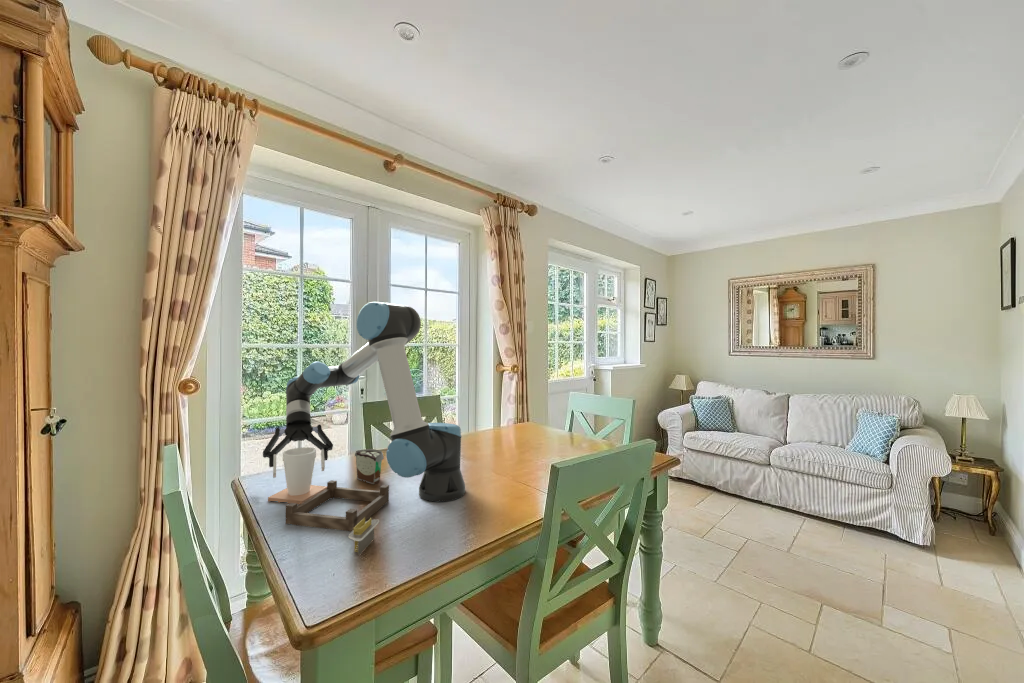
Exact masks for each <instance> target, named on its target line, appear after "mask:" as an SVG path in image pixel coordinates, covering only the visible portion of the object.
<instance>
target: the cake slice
mask: <svg viewBox="0 0 1024 683" xmlns="http://www.w3.org/2000/svg"><path fill="white" fill-rule="evenodd" d="M354 457H355V466H356V467H355V468H356V479H357V480H359V481H362V480H363V481H362V482H365V481H366V483H369V484H371V485H375V484H379V482H380V480H381V471H382V461H383V460H384V459H385V457H384V453H383V451H382V450H380V449H374V448H366V449H359V450H355V453H354Z"/></svg>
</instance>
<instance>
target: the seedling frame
mask: <svg viewBox="0 0 1024 683" xmlns="http://www.w3.org/2000/svg"><path fill="white" fill-rule="evenodd" d="M326 484H327V485H326V486H327V489H326V490H324V491H322V492H321V493H319V494H317V495H316V496H314V497H312V498H310V499H309V500H307V501H305V502H304V503H302V504H297V503H287V504H286V505H285V522H284V523H285V525H290V524H292V526H293V525H294V526H301V527H308V526H309V527H310V528H318V529H327V530H328V529H329V530H335V529H336V530H337V531H344V532H345V531H346V532H352V531H353V530H354V527H355V526H356V525H357V524H358V523H359V522H360V521H361V520H363V519H364V518H365V521H368V520H369V519H370V518H371V517H372V516H373V515H374V514H375V513H376V512H378V511H379V510H380V509H381V508H382V507H383V506H385V505H386V504H387V503H388V502H389V500H390V499H389V498H390V495H389V494H390V485H388V484H382V485H380V487H379V490H375V489H374V490H372V489H363V488H362V489H361V488H352V487H341V486H339V487H338V485H337V484H338V481H337V480H334V479H333V480H330V481H327V482H326ZM330 498H332V500H333V499H334V498H335V499H342V498H344V499H345V500H352V499H354V500H355V501H365V502H370V503H368V504H367V505H366V506H365V507H363V508H361V509H360V510H358V509H356V508H349V509H348V510H347V511H345V516H340V515H331V514H329V515H328V514H319V513H310V512H311V511H313V510H315V509H317V508H318V507H320V506H321V505H322V503H323V504H324V503H325V501H326V502H327V501H329V500H330ZM328 499H329V500H328ZM344 499H343V500H344ZM354 500H353V501H354ZM317 506H318V507H317ZM314 508H315V509H314ZM312 509H313V510H312ZM309 511H310V512H309Z"/></svg>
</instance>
